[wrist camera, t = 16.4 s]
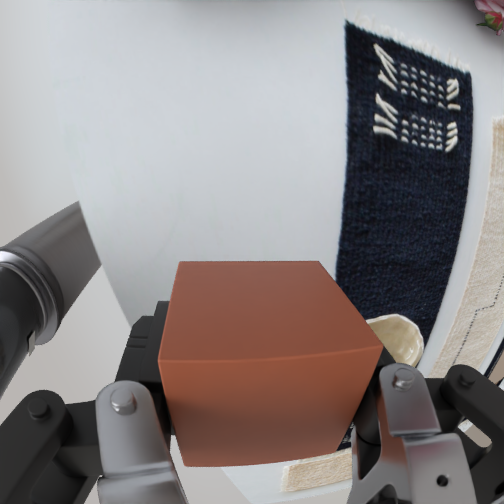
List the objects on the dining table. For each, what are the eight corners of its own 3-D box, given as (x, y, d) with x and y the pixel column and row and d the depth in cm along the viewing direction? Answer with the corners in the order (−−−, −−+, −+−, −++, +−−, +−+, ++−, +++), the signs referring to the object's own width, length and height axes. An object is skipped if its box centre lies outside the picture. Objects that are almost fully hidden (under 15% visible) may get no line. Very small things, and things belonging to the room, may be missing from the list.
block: (187, 366, 10) (184, 467, 6) (178, 260, 9) (156, 360, 5) (300, 361, 11) (335, 453, 7) (318, 259, 9) (385, 345, 5)
